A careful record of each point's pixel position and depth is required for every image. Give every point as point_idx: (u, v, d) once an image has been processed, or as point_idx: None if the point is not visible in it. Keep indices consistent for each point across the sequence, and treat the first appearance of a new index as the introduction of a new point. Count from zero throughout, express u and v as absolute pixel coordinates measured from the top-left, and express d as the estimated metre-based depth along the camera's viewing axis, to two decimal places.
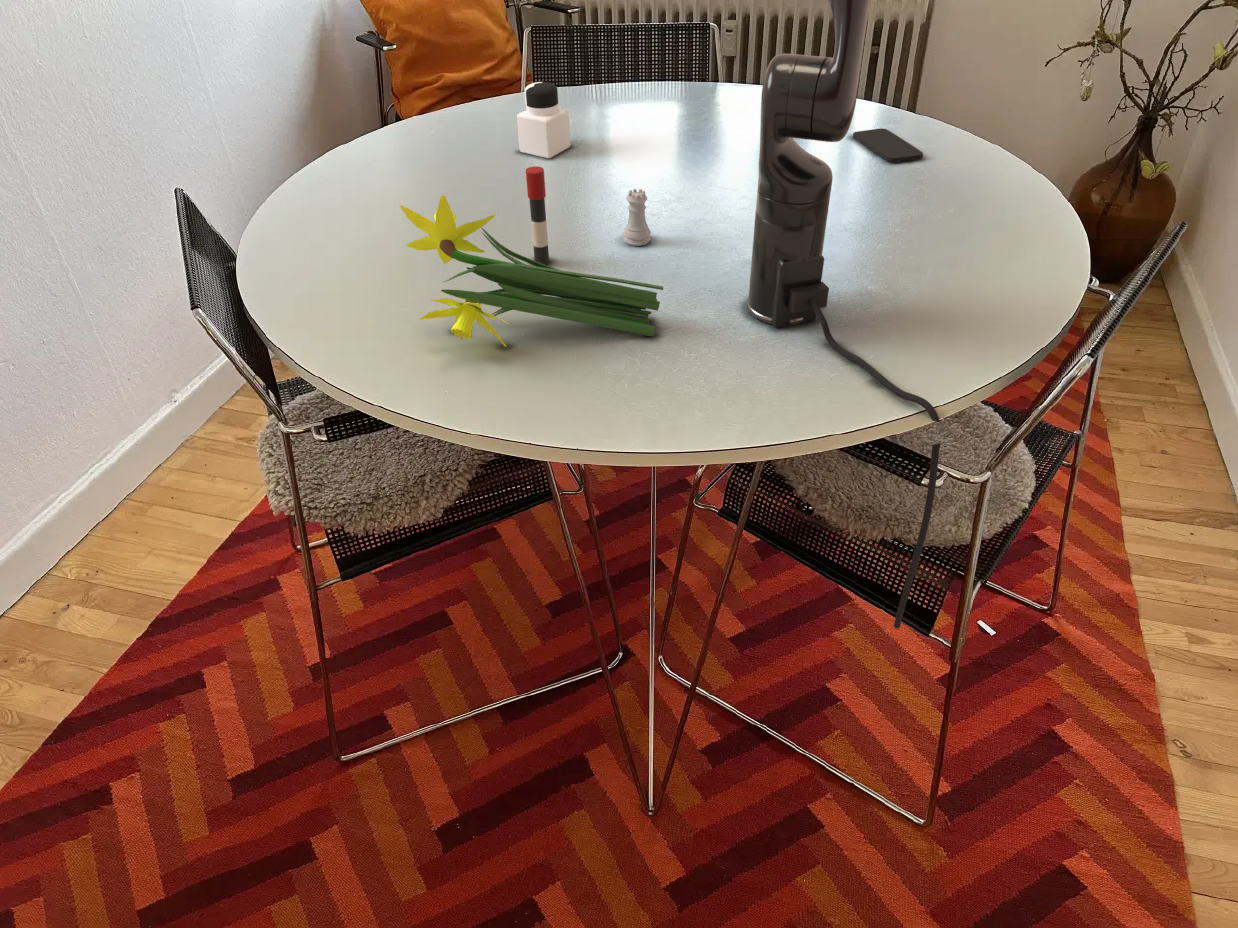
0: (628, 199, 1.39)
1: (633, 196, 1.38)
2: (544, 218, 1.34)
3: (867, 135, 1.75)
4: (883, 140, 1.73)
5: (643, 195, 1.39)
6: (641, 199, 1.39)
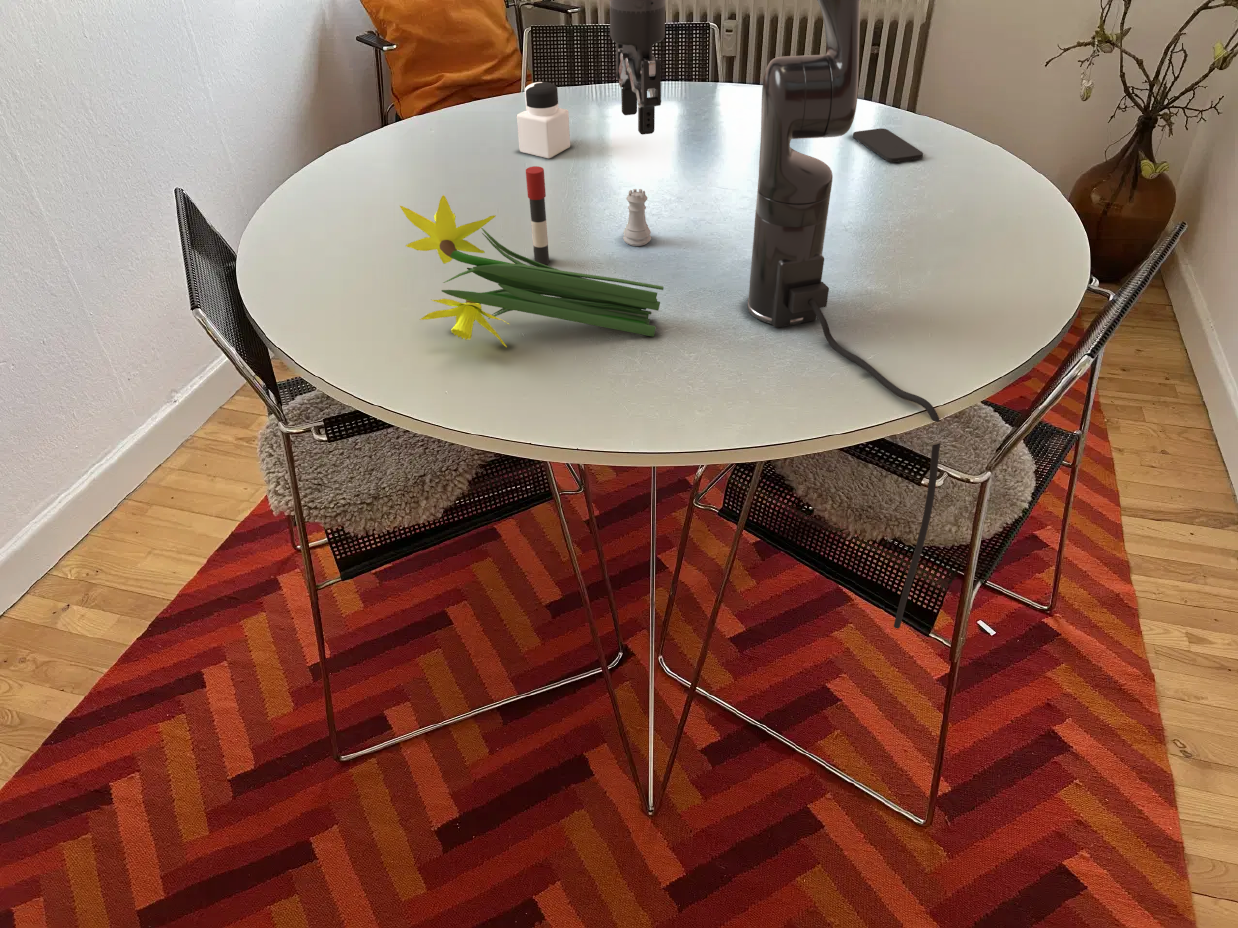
0: (628, 199, 1.39)
1: (633, 196, 1.38)
2: (544, 218, 1.34)
3: (867, 135, 1.75)
4: (883, 140, 1.73)
5: (643, 195, 1.39)
6: (641, 199, 1.39)
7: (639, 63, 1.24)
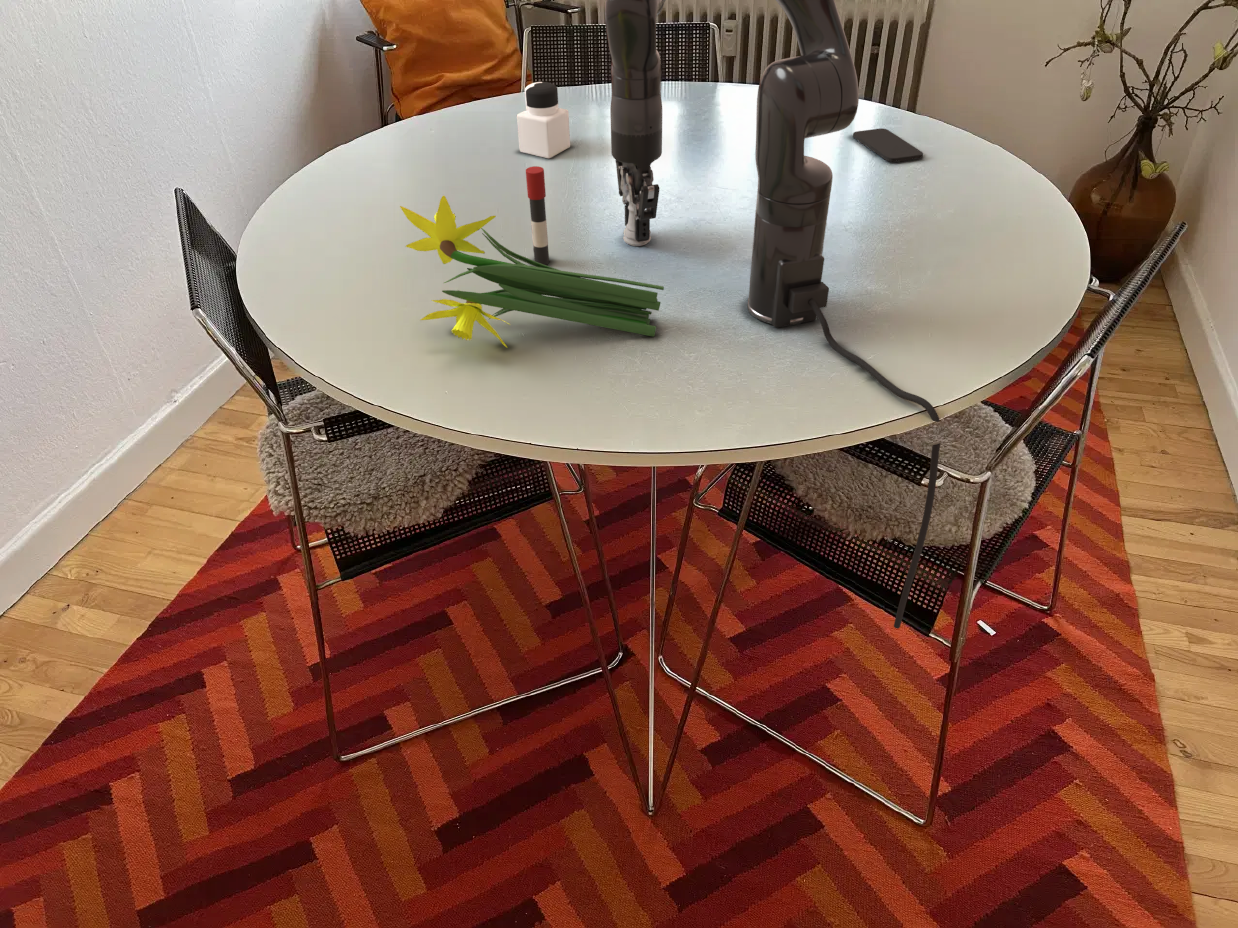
0: (628, 199, 1.39)
1: None
2: (544, 218, 1.34)
3: (867, 135, 1.75)
4: (883, 140, 1.73)
5: None
6: None
7: (639, 181, 1.34)
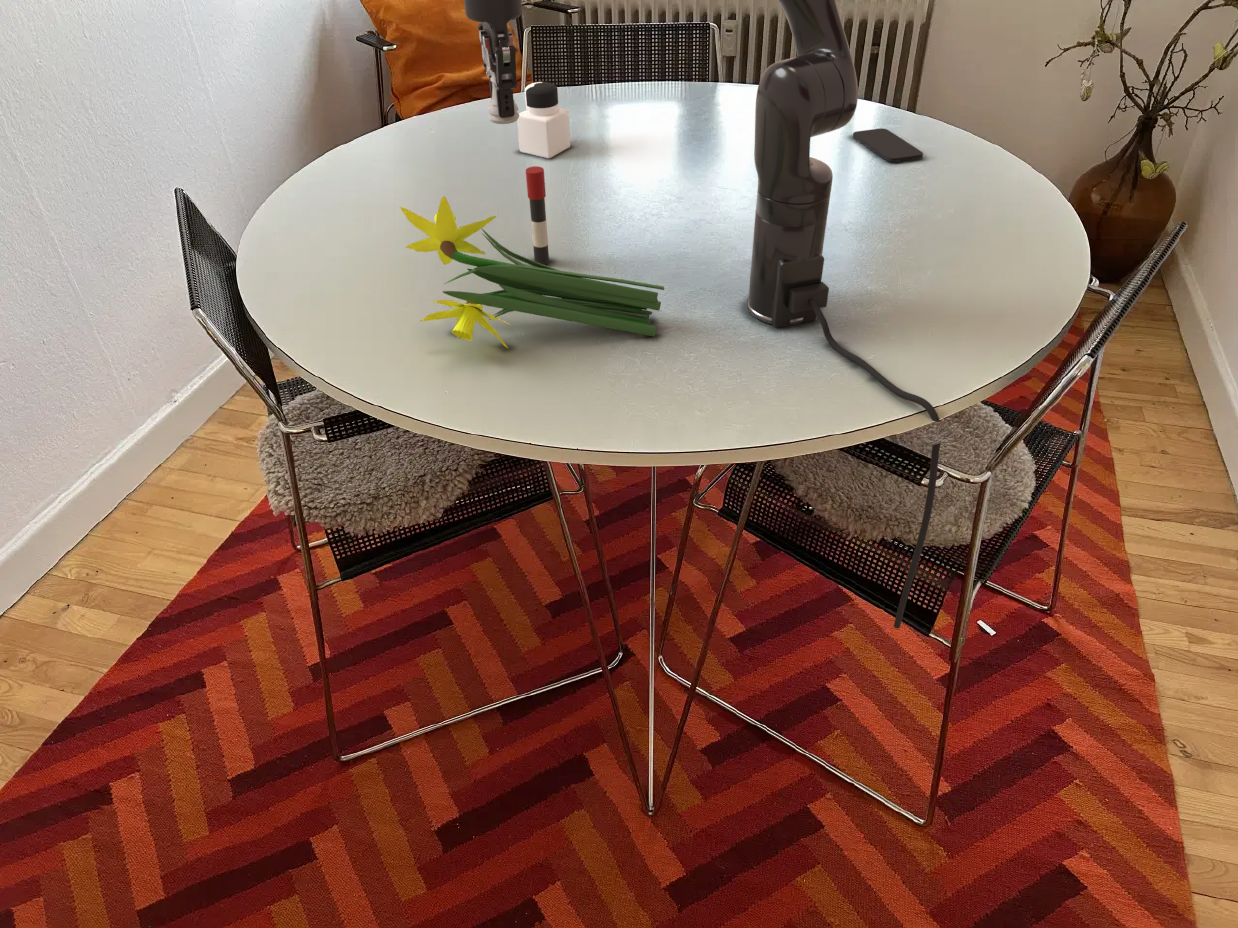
0: None
1: (494, 64, 1.24)
2: (544, 218, 1.34)
3: (867, 135, 1.75)
4: (883, 140, 1.73)
5: None
6: None
7: (494, 43, 1.20)
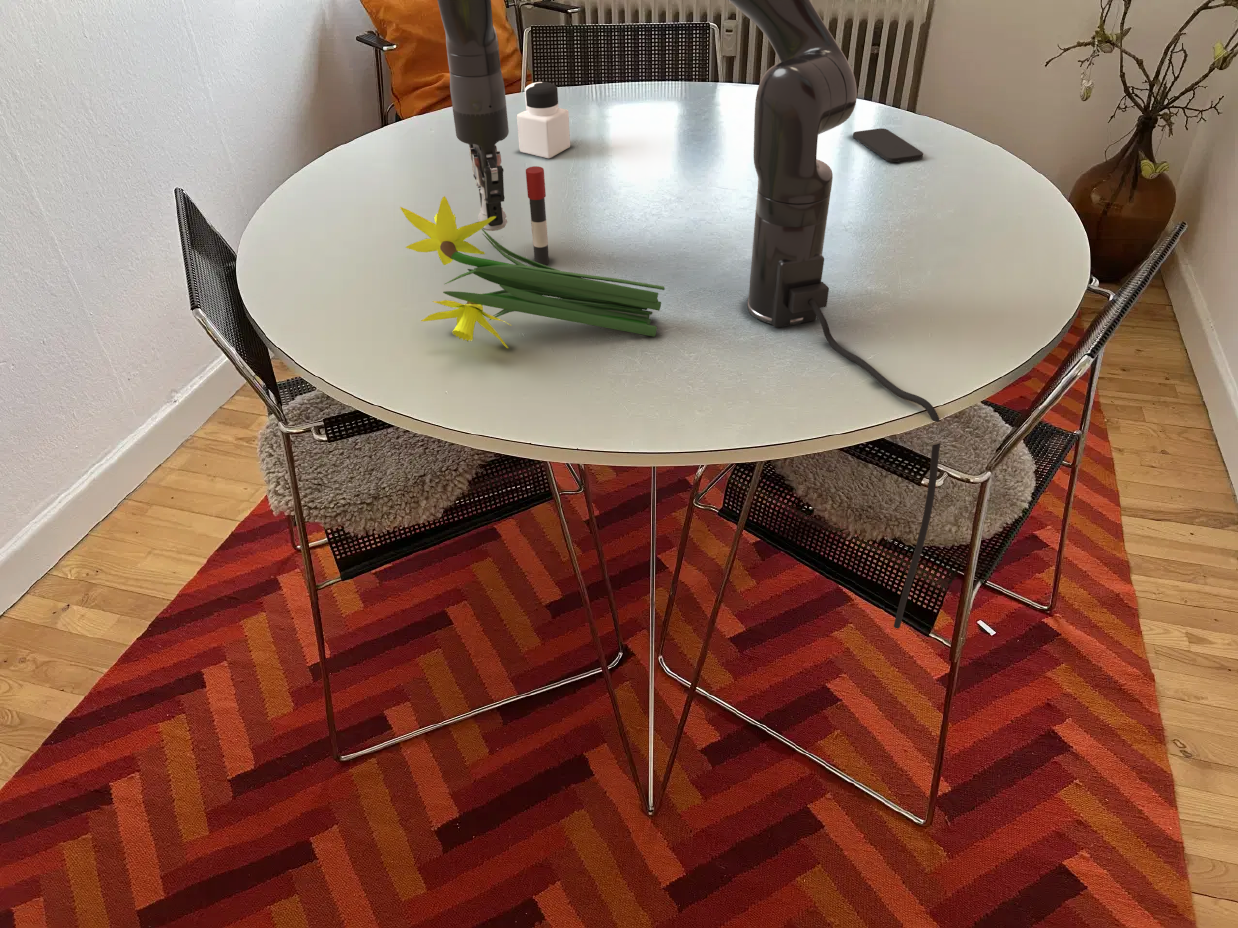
0: None
1: (483, 179, 1.34)
2: (544, 218, 1.34)
3: (867, 135, 1.75)
4: (883, 140, 1.73)
5: None
6: None
7: (483, 163, 1.29)
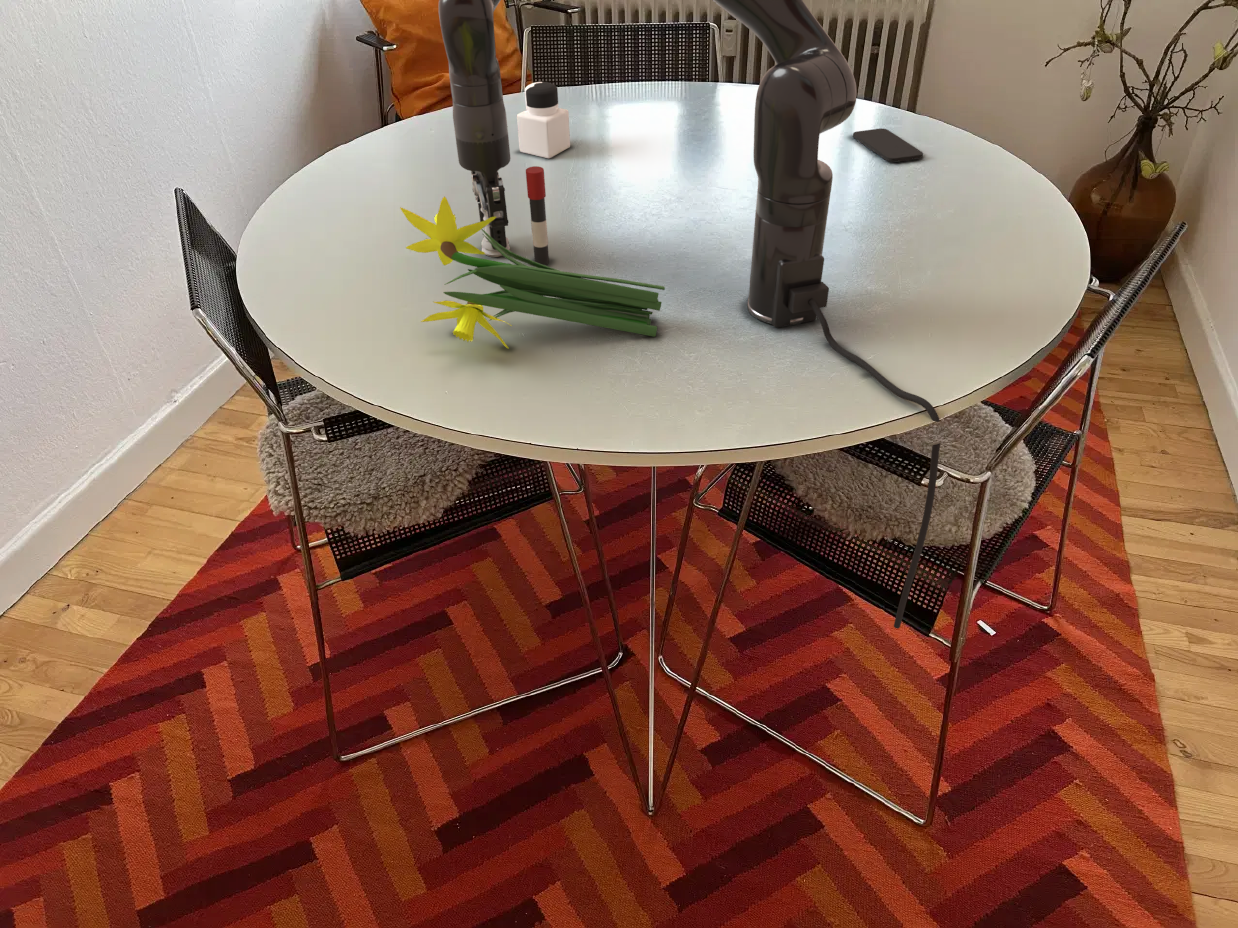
0: None
1: None
2: (544, 218, 1.34)
3: (867, 135, 1.75)
4: (883, 140, 1.73)
5: None
6: None
7: (485, 187, 1.31)
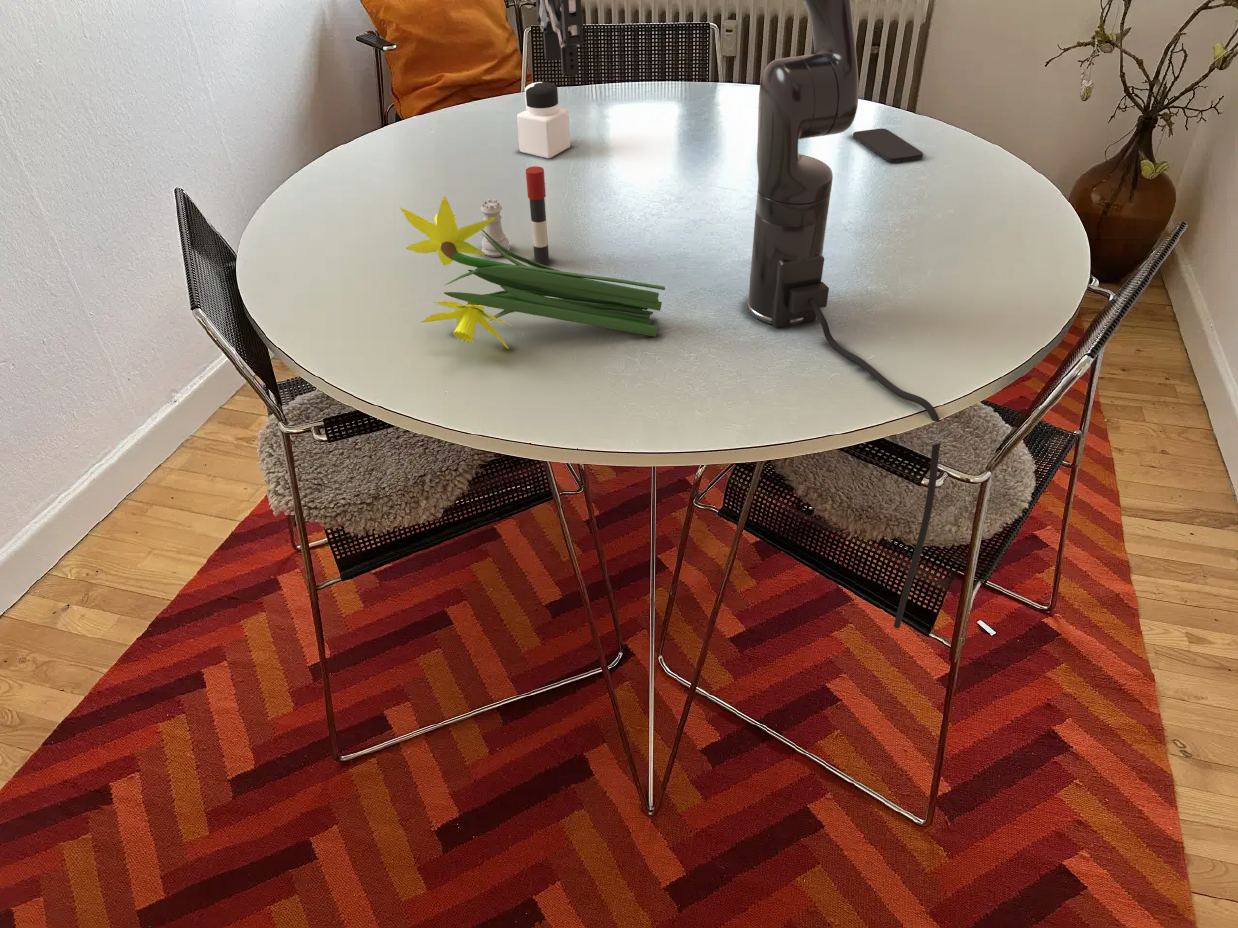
0: (482, 209, 1.37)
1: (486, 207, 1.36)
2: (544, 218, 1.34)
3: (867, 135, 1.75)
4: (883, 140, 1.73)
5: (496, 205, 1.37)
6: (494, 210, 1.37)
7: (559, 0, 1.20)
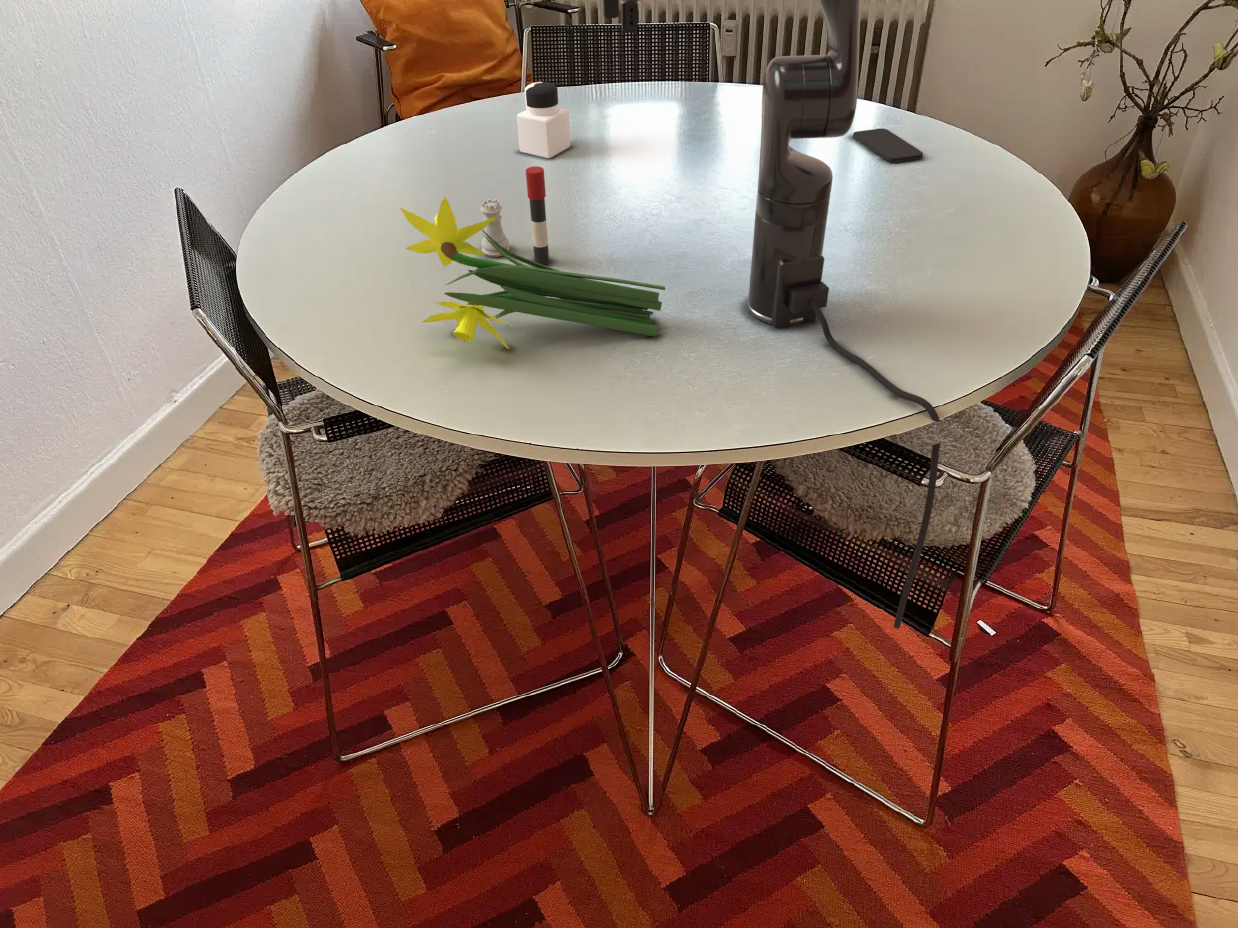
0: (482, 210, 1.37)
1: (486, 207, 1.36)
2: (544, 218, 1.34)
3: (867, 135, 1.75)
4: (883, 140, 1.73)
5: (496, 205, 1.37)
6: (494, 210, 1.37)
7: None
